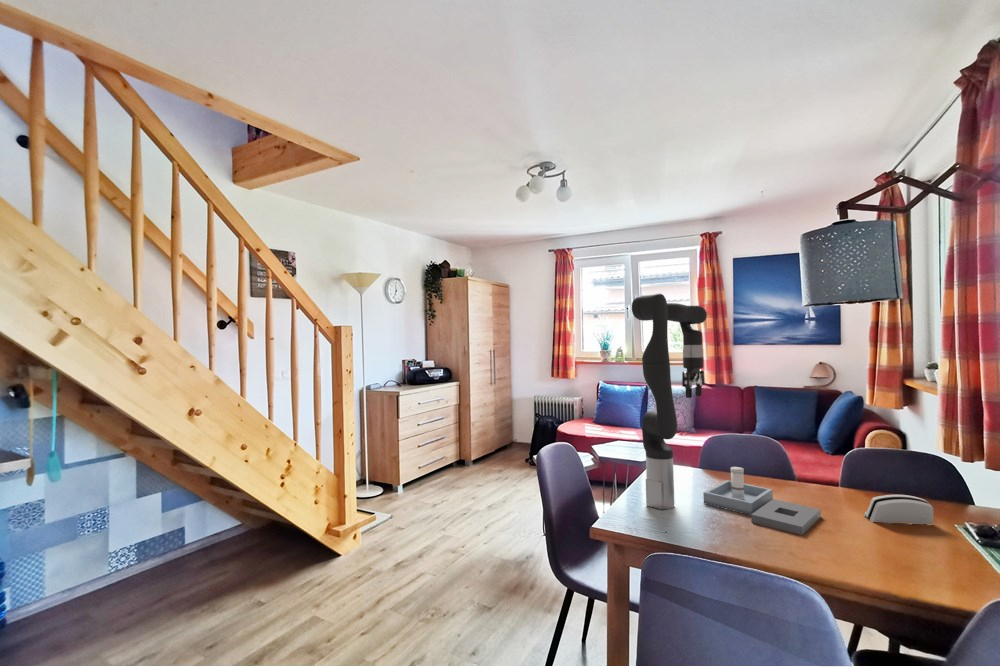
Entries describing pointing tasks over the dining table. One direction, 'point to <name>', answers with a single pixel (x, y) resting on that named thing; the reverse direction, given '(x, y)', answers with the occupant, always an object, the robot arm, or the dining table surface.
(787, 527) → the block
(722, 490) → the parts tray
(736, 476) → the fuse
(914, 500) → the grey grooved half-disc
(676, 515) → the dining table surface
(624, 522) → the dining table surface
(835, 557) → the dining table surface
